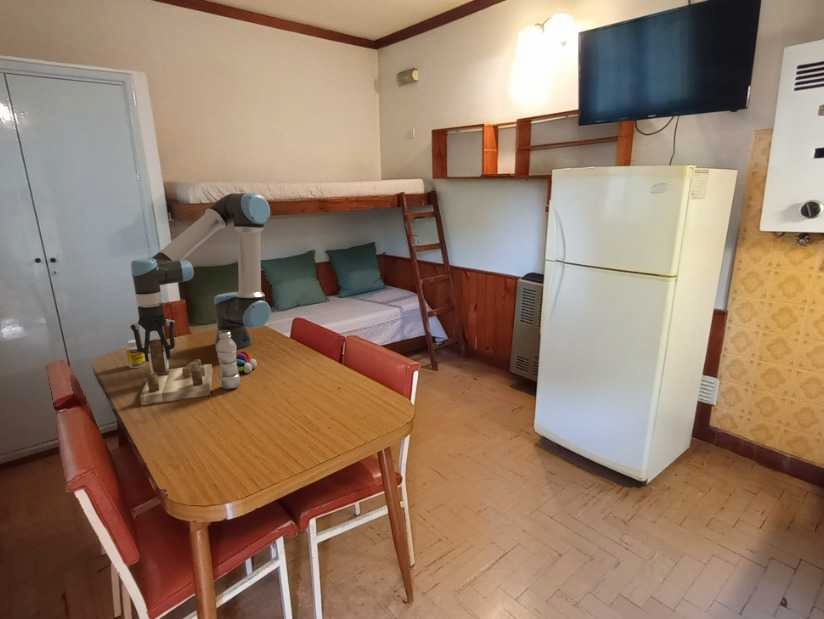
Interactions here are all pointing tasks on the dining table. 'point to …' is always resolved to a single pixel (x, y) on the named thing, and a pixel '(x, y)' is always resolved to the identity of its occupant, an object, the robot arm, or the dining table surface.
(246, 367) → the multicoloured ball
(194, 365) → the folding leg
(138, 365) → the supplement bottle
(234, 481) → the dining table surface
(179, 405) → the dining table surface
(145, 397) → the board
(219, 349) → the plastic bottle
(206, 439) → the dining table surface
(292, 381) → the dining table surface
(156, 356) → the loose leg
